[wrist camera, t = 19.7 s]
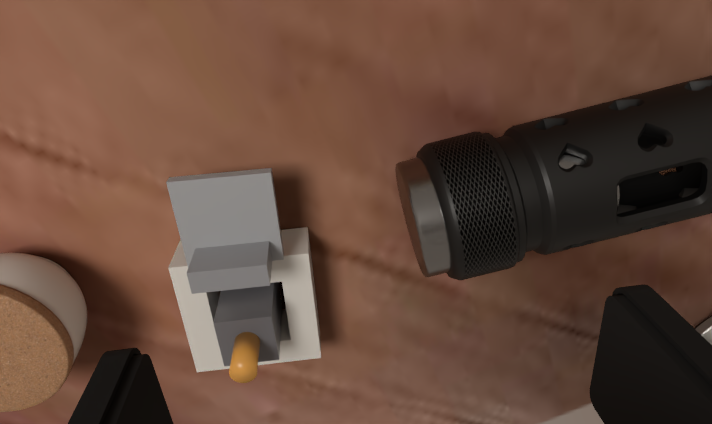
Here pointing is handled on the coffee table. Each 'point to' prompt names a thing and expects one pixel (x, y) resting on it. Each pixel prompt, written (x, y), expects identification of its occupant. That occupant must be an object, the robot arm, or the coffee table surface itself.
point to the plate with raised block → (227, 228)
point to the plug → (248, 328)
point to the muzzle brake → (559, 181)
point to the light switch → (297, 317)
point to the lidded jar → (37, 329)
